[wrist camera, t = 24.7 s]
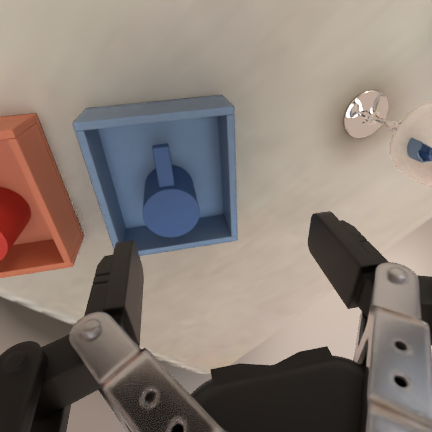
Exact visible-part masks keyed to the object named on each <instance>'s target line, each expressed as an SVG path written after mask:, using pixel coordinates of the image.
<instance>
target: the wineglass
mask: <svg viewBox="0 0 432 432" xmlns="http://www.w3.org/2000/svg"><path fill="white" fill-rule="evenodd" d="M388 108H389V105H388V100H387V98H386V96H385V95H384V94H383V93H382V92H380V91H377V90H369V91H366V92H363V93H361V94H360V95H358V96H357V97H356V98H355V99H354V100H353V101H352V102H351V104H350V105H349V107H348V108H347V110H346V113H345V117H344V126H345V130H346V132H347V133H348V134H349V135H350V136H352V137H355V138H364V137H367V136H369V135H371V134H373V133H374V132H376V131H377V130H378V129H379V128H380V127H381V125H385V126H387V127H388V128H389V129H391V131H392V132H393V134H392V137H391V140H390V155H391V159H392V161H393V163H394V164H395V166H396V167H397V168H398V169H399V170H400V171H401V172H402V173H404V174H405V175H406V176H408V177H409V178H411V179H413V180H415V181H417V182H420V183H422V184H425V185H427V186H430V187H432V101H431V102H427V103H425V104H422V105H420V106H418V107H417V108H415V109H413V110H412V111H411V112H409V113H408V114H407V115H406V116H405V117H404V118H403V119H402V120H401V121H389V120H385V119H386V116H387V113H388Z"/></svg>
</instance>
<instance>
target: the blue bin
mask: <svg viewBox="0 0 432 432" xmlns="http://www.w3.org/2000/svg"><path fill="white" fill-rule="evenodd" d="M72 124H73V127H74V130H75V131H76V132H75V133H76V136H77V139H78V142H79V145H80V148H81V151H82V154H83V157H84V160H85V163H86V166H87V169H88V172H89V175H90V179H91V182H92V185H93V188H94V191H95V194H96V197H97V200H98V203H99V206H100V209H101V212H102V215H103V218H104V221H105V224H106V227H107V230H108V233H109V236H110V239H111V242H112V245H113V248H114V249H115V244H116V242H123V241H130V240H134V241H135V243H136V246H137V250H138V253H139V256H142V255H149V254H155V253H161V252H168V251H174V250H180V249H187V248H193V247H199V246H206V245H212V244H218V243H225V242H231V241H237V240H238V236H237V235H238V232H237V194H236V157H235V119H234V106H233V105H232V104H231V103H230V102H229V101H228V100H227V99H226V98H225V97H224V96H223V95H215V96H205V97H195V98H185V99H175V100H165V101H155V102H145V103H135V104H125V105H115V106H105V107H95V108H86V109H85V110H84V111H83V112H82V113H81V114H80V116H79V117H78V118H77V119H76V120H75V121H74V122H73V123H72ZM166 143H167V144H169V150H170V157H171V163H172V165H175V166H178V167H181V168H183V169H184V170H185V171H187V172H188V173H189V175H190V176H191V178H192V180H193V184H194V188H195V192H196V196H197V200H198V205H199V209H200V216H199V220H198V222H197V224H196V225H195V226H194V228H193V229H192V230H190V231H189V232H188V233H186V234H184V235H181V236H178V237H163V236H160V235H157V234H155V233H154V232H152V231H151V230H150V229H149V228H148V227H147V226H146V224H145V222H144V220H143V200H144V188H145V181H146V178H147V176H148V175H149V174H150V173H151V172H152V171H153V170H154V169H156V167H155V161H154V156H153V151H152V146H153V145H158V144H166Z"/></svg>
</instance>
